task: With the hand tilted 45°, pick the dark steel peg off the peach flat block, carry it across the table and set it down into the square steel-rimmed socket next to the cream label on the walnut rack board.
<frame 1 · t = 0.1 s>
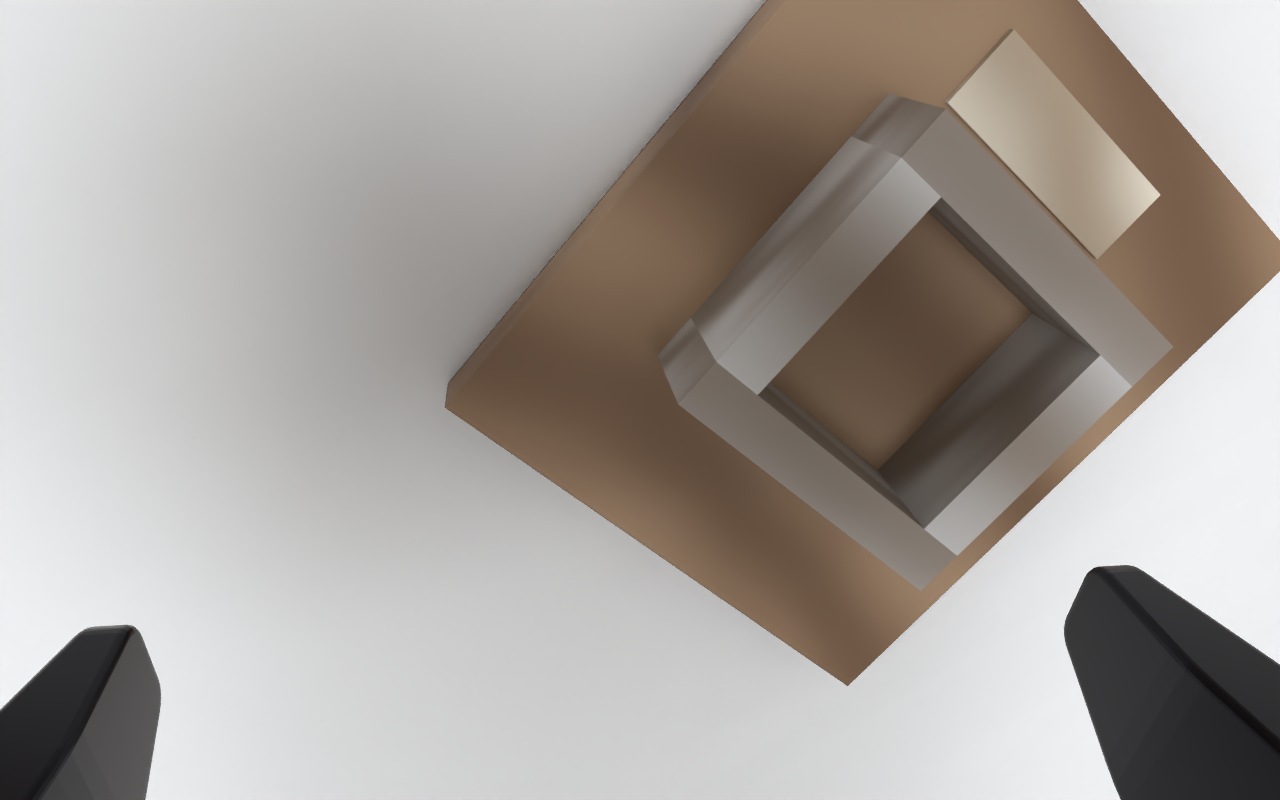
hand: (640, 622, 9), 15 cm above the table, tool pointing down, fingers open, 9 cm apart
rack board: (861, 311, 25), on the table
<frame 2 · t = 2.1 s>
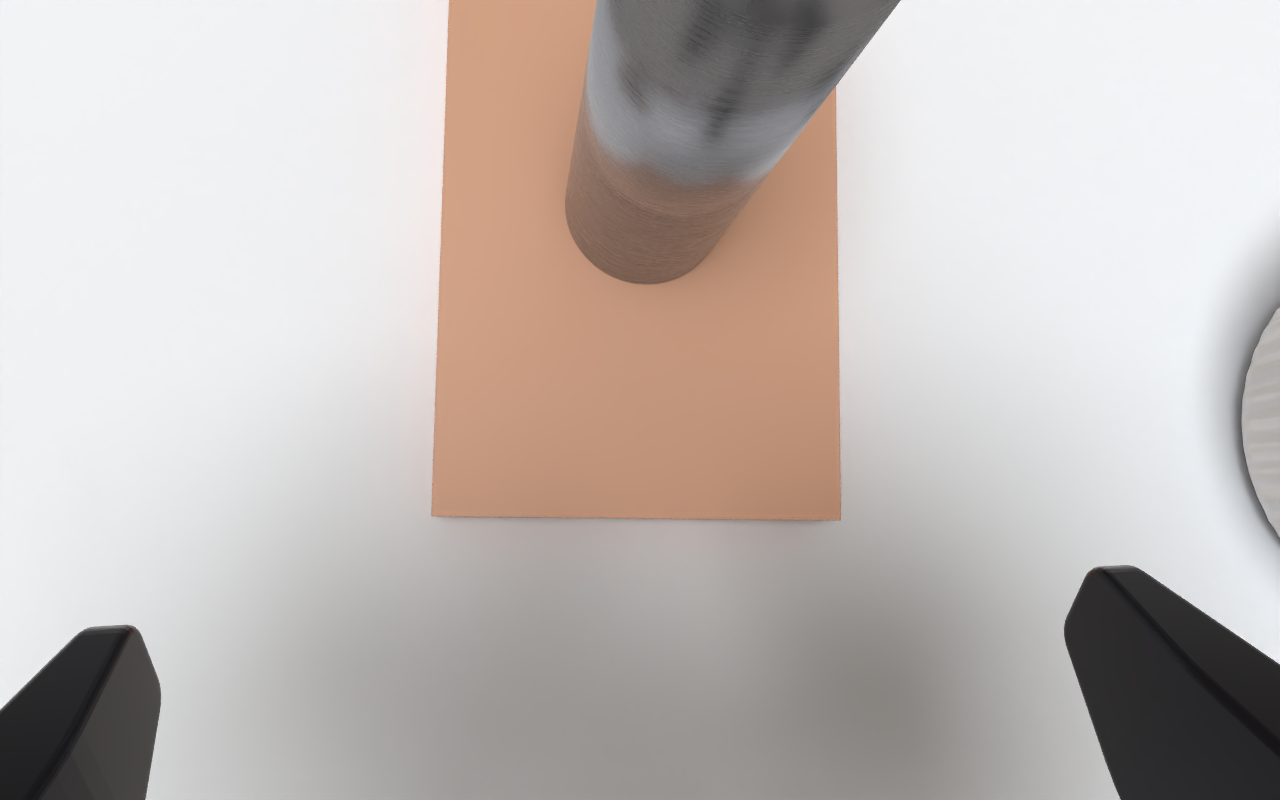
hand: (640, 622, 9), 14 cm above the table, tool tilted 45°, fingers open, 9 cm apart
peach flat block: (636, 225, 24), on the table
steel peg: (644, 206, 22), point 2 cm above the table, touching peach flat block
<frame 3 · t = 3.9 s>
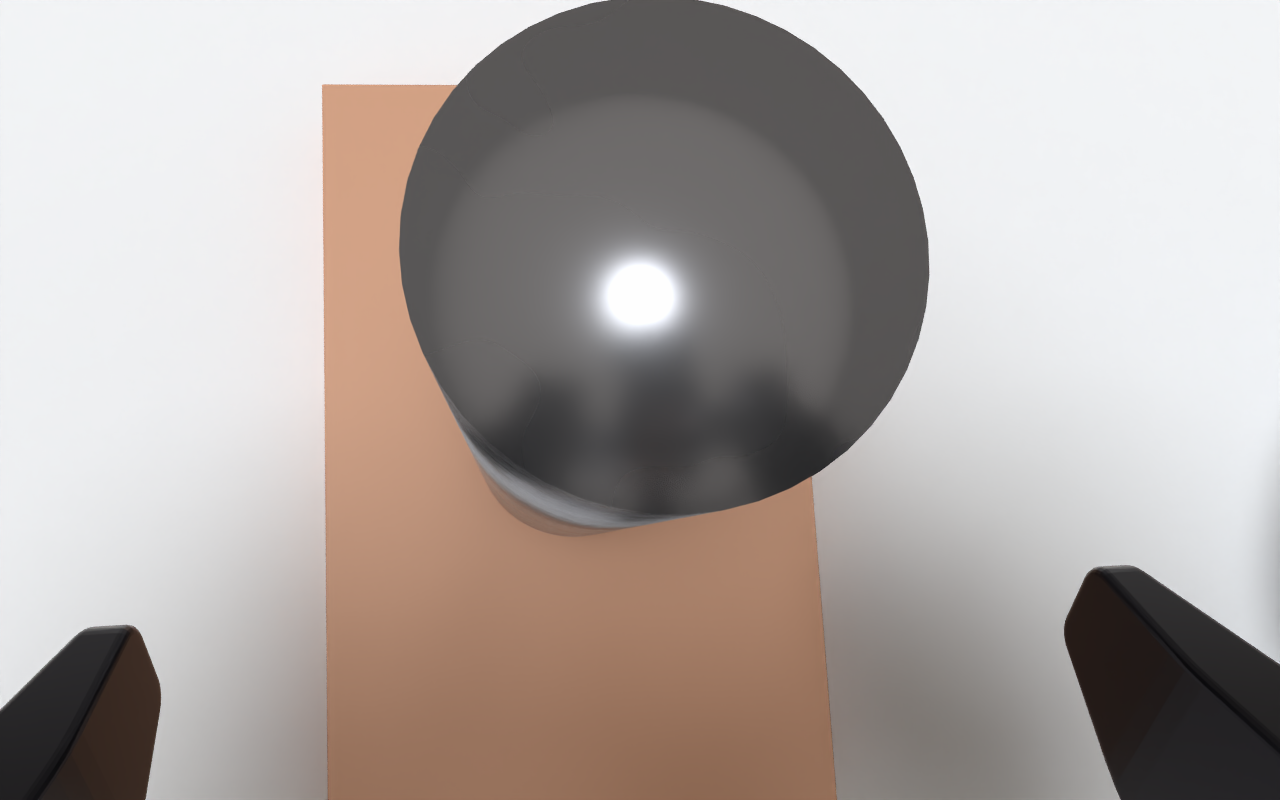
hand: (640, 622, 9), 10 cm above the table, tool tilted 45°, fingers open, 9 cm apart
peach flat block: (569, 447, 20), on the table
steel peg: (573, 439, 18), point 2 cm above the table, touching peach flat block
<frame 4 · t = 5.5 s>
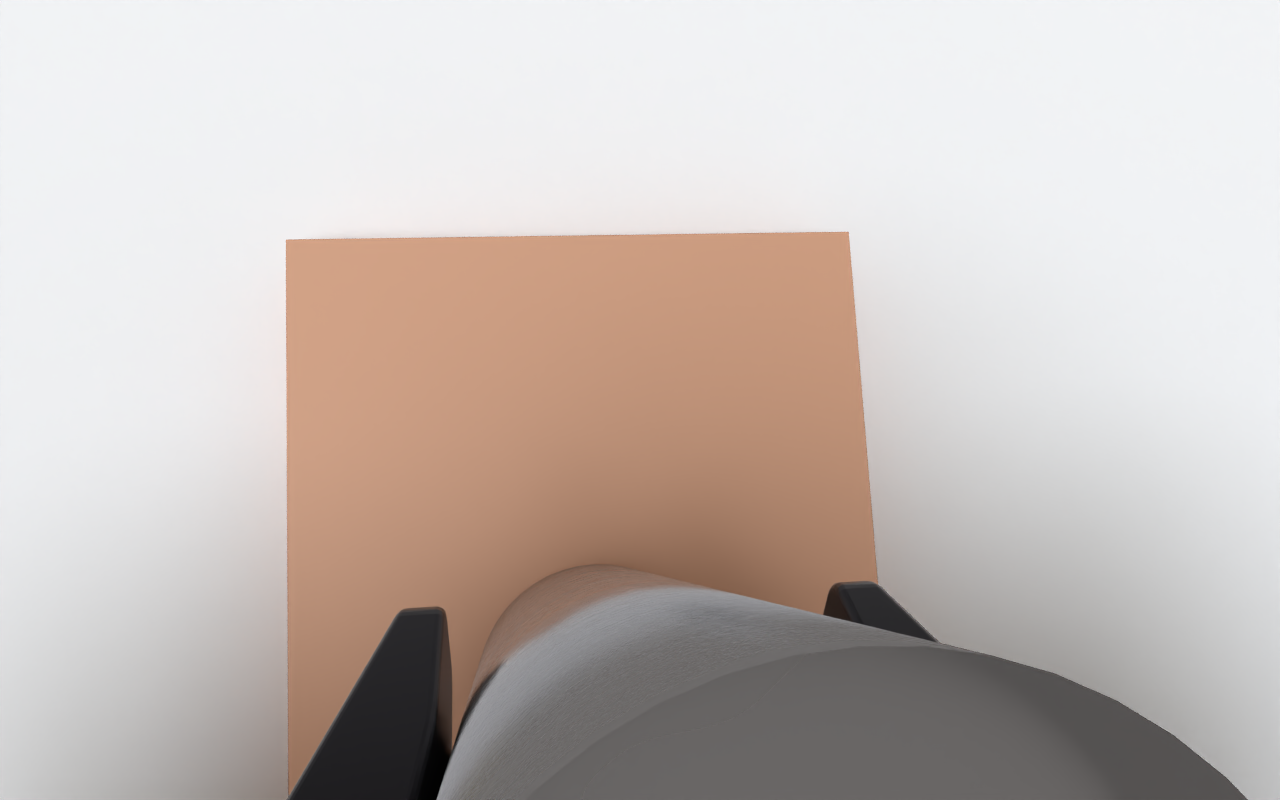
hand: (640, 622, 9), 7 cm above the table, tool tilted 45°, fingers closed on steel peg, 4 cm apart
peach flat block: (590, 672, 16), on the table
steel peg: (597, 685, 15), point 2 cm above the table, touching gripper, peach flat block
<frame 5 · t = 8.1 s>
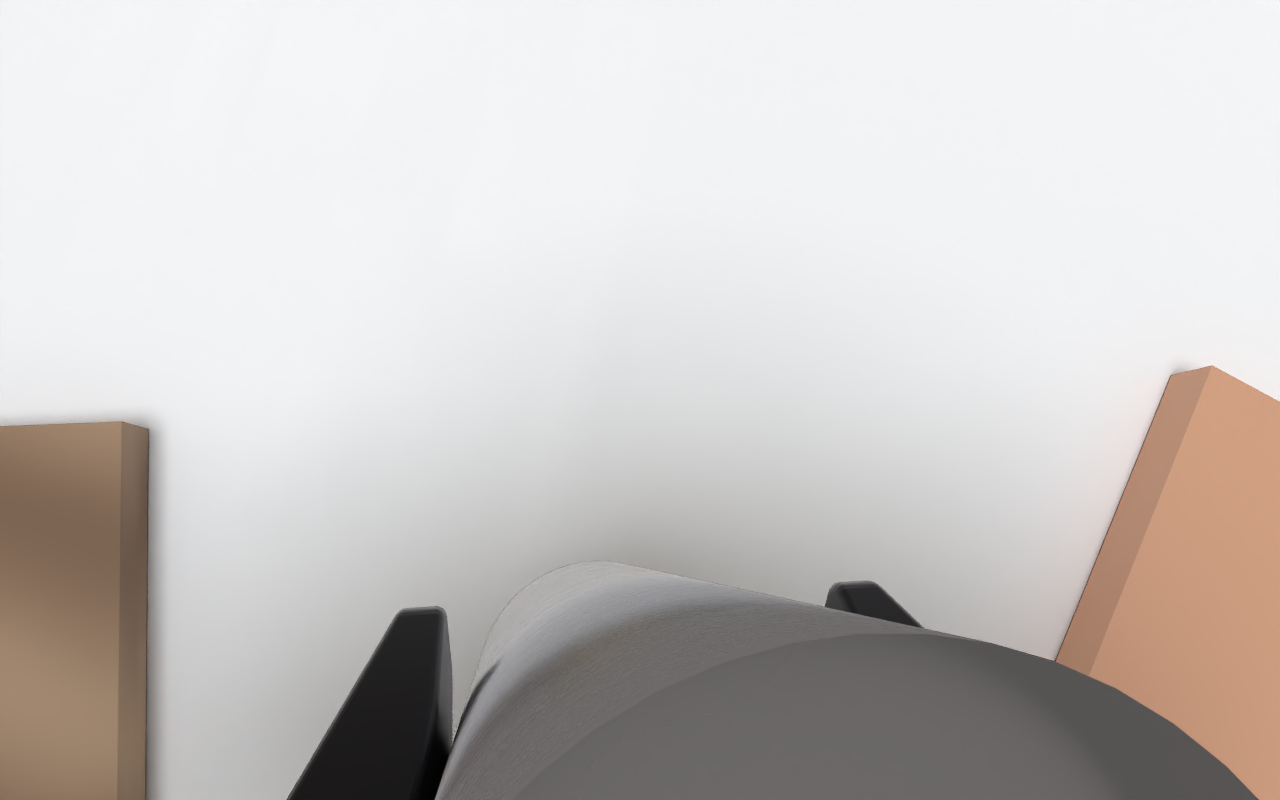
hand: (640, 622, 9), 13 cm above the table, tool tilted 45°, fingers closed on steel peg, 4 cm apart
peach flat block: (1228, 711, 24), on the table
steel peg: (598, 681, 15), point 8 cm above the table, touching gripper
when the fingers open (9 cm above the table, at t = 10.6 s): steel peg drops 2 cm, resting on rack board.
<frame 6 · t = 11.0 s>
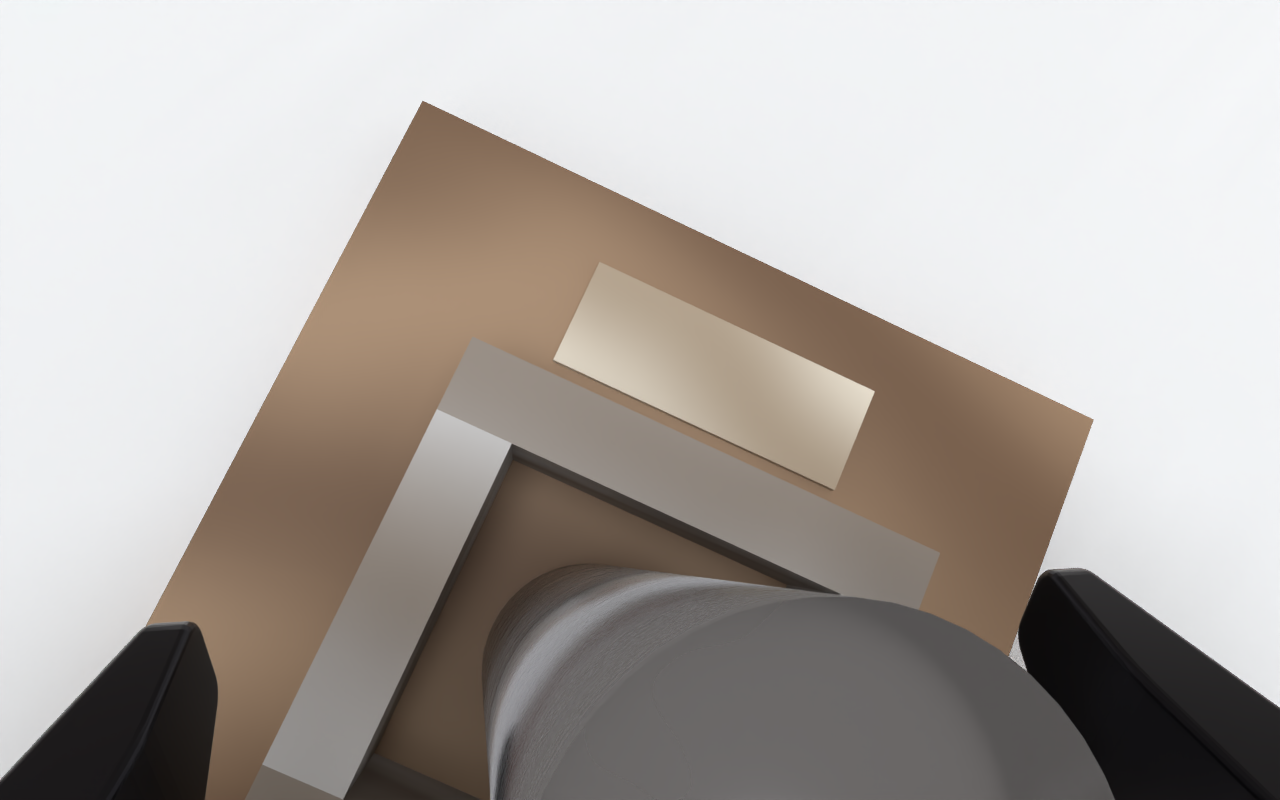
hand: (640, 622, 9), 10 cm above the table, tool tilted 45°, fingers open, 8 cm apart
rack board: (582, 655, 19), on the table
steel peg: (587, 669, 17), point 2 cm above the table, touching rack board
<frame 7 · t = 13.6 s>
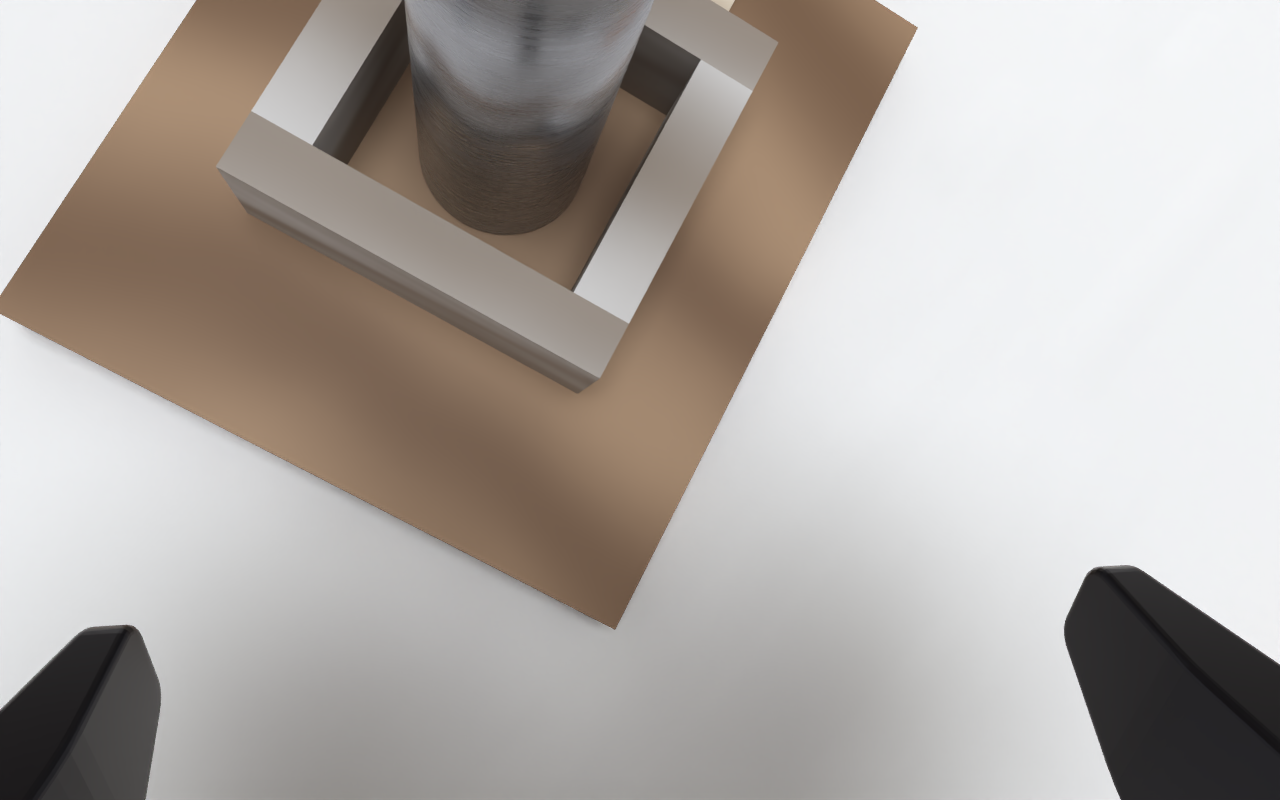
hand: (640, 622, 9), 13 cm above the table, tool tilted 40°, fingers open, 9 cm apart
rack board: (500, 174, 23), on the table
steel peg: (503, 154, 22), point 2 cm above the table, touching rack board
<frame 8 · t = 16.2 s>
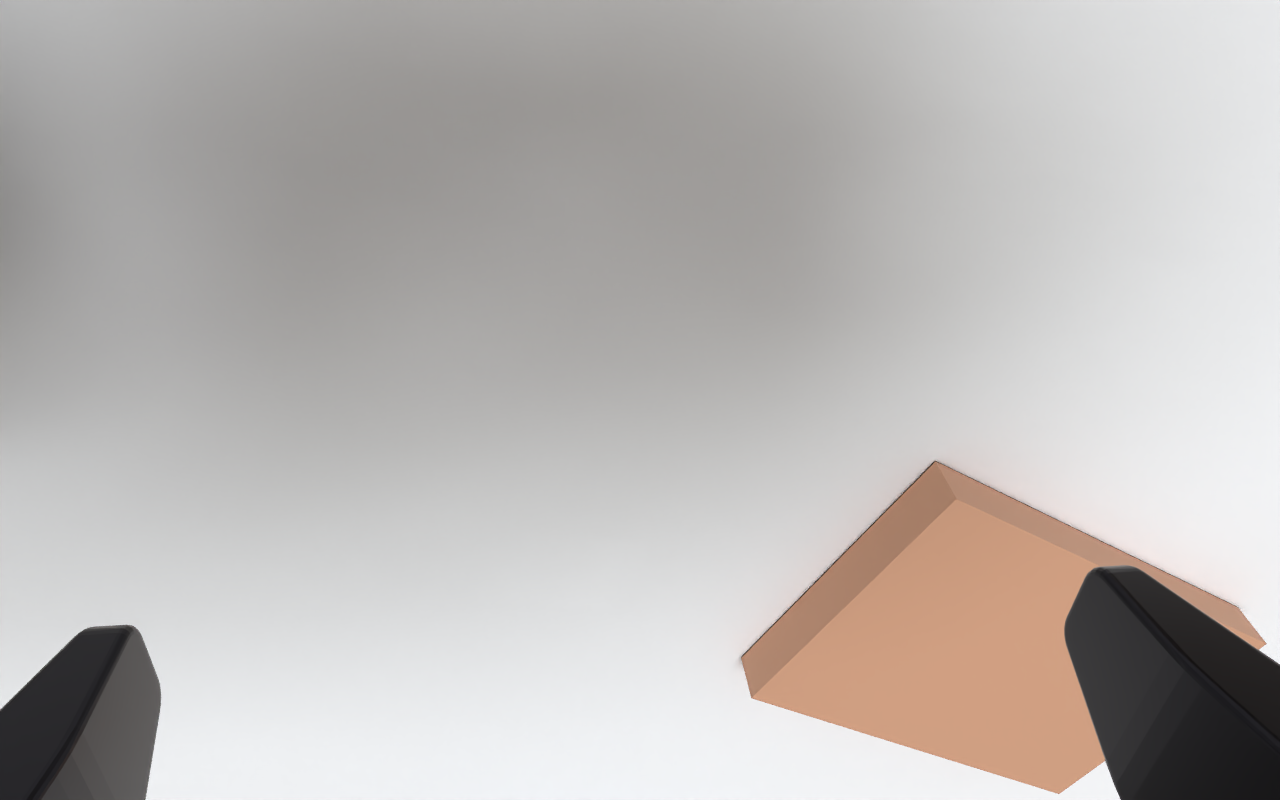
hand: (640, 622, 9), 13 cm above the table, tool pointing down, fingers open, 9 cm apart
peach flat block: (996, 632, 32), on the table
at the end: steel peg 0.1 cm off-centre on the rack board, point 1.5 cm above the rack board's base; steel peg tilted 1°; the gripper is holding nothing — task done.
